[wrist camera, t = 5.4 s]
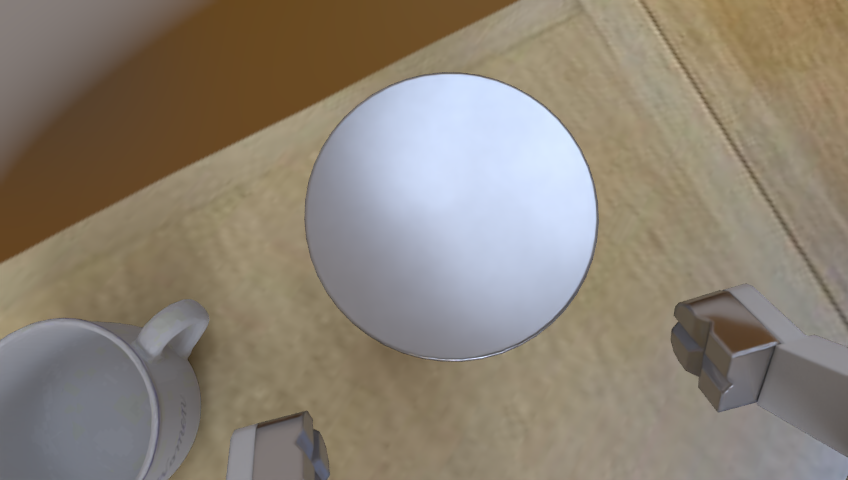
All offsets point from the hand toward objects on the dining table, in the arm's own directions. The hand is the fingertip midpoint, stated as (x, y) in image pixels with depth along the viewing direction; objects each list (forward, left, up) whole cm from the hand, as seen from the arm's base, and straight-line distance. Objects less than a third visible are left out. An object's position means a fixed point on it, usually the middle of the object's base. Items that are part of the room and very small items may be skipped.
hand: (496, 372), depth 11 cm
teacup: (+19, +2, -24) cm, 30 cm away
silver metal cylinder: (+1, -3, -8) cm, 8 cm away
